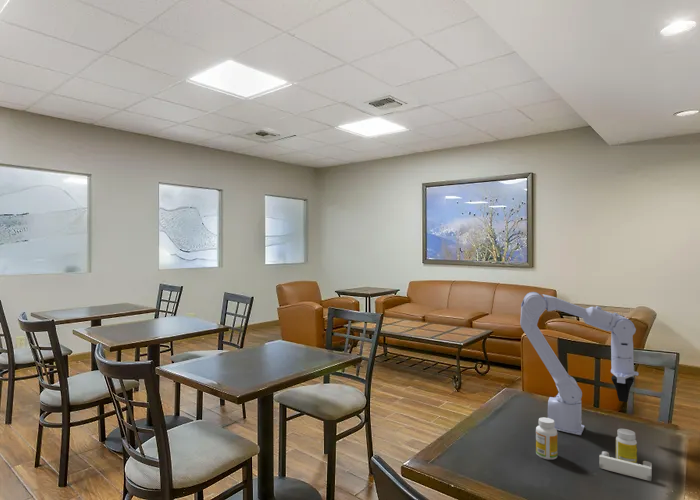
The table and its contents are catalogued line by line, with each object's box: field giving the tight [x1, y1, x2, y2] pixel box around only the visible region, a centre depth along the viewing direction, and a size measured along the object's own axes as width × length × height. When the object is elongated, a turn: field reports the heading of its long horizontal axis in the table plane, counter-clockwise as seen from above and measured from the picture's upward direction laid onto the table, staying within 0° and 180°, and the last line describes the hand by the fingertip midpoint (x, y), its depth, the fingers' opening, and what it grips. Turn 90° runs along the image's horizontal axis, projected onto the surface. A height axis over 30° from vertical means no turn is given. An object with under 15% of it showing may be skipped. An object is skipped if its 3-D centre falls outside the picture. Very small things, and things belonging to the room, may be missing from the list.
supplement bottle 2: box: [615, 428, 638, 464], centre depth 113 cm, size 5×5×8 cm
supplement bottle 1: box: [535, 417, 558, 460], centre depth 117 cm, size 5×5×10 cm
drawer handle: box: [598, 450, 653, 482], centre depth 110 cm, size 11×8×3 cm
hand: (623, 401), depth 130 cm, fingers closed
